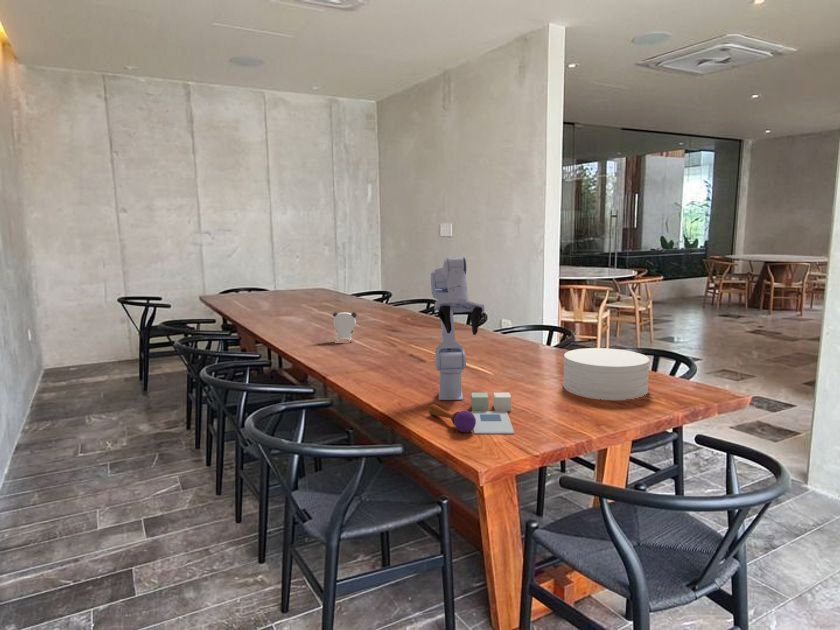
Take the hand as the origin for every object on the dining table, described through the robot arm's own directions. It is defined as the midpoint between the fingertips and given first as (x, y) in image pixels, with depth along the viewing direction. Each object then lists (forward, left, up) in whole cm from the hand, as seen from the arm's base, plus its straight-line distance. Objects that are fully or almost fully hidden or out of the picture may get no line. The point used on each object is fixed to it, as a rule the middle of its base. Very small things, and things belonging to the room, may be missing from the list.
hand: (462, 332), depth 156 cm
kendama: (0, -3, -27) cm, 28 cm away
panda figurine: (-121, -55, -27) cm, 135 cm away
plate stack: (-37, +51, -27) cm, 68 cm away
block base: (-15, +6, -27) cm, 31 cm away
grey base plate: (-2, +8, -27) cm, 28 cm away
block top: (-15, +13, -27) cm, 33 cm away
